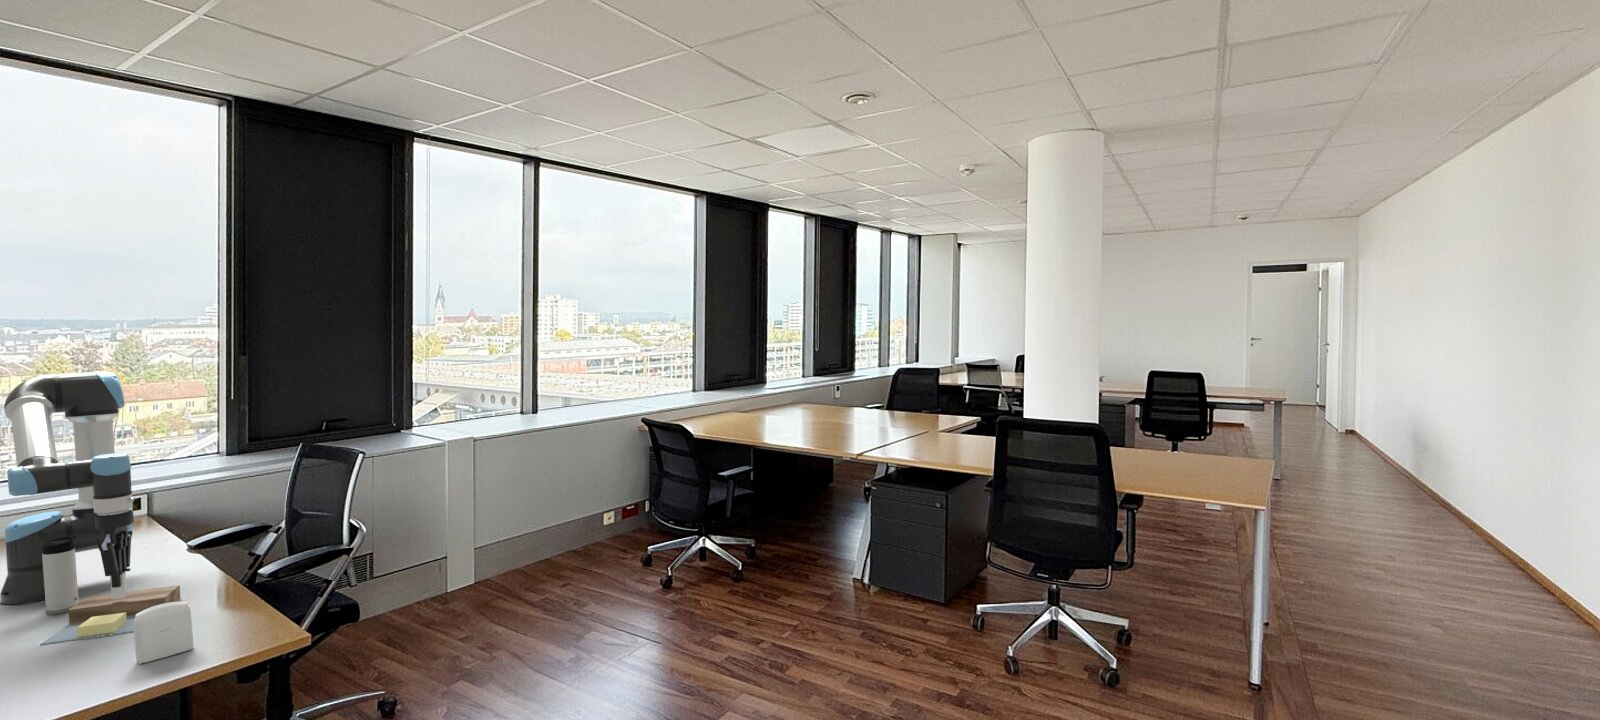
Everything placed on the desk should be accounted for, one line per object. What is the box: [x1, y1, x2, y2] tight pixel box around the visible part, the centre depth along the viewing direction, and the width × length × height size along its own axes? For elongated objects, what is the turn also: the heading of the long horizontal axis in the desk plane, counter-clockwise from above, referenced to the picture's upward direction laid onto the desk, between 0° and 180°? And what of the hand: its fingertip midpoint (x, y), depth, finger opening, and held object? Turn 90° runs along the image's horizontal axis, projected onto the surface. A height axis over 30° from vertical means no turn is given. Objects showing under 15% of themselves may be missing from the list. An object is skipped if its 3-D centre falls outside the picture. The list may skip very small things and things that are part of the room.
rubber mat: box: [39, 615, 135, 646], centre depth 185 cm, size 13×20×1 cm, turn 113°
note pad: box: [77, 612, 127, 637], centre depth 183 cm, size 7×7×2 cm
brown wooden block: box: [67, 584, 181, 624], centre depth 195 cm, size 10×20×4 cm, turn 113°
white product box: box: [133, 601, 194, 665], centre depth 169 cm, size 10×4×12 cm, turn 140°
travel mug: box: [42, 536, 79, 615], centre depth 196 cm, size 6×7×20 cm
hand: (119, 597), depth 192 cm, fingers closed
